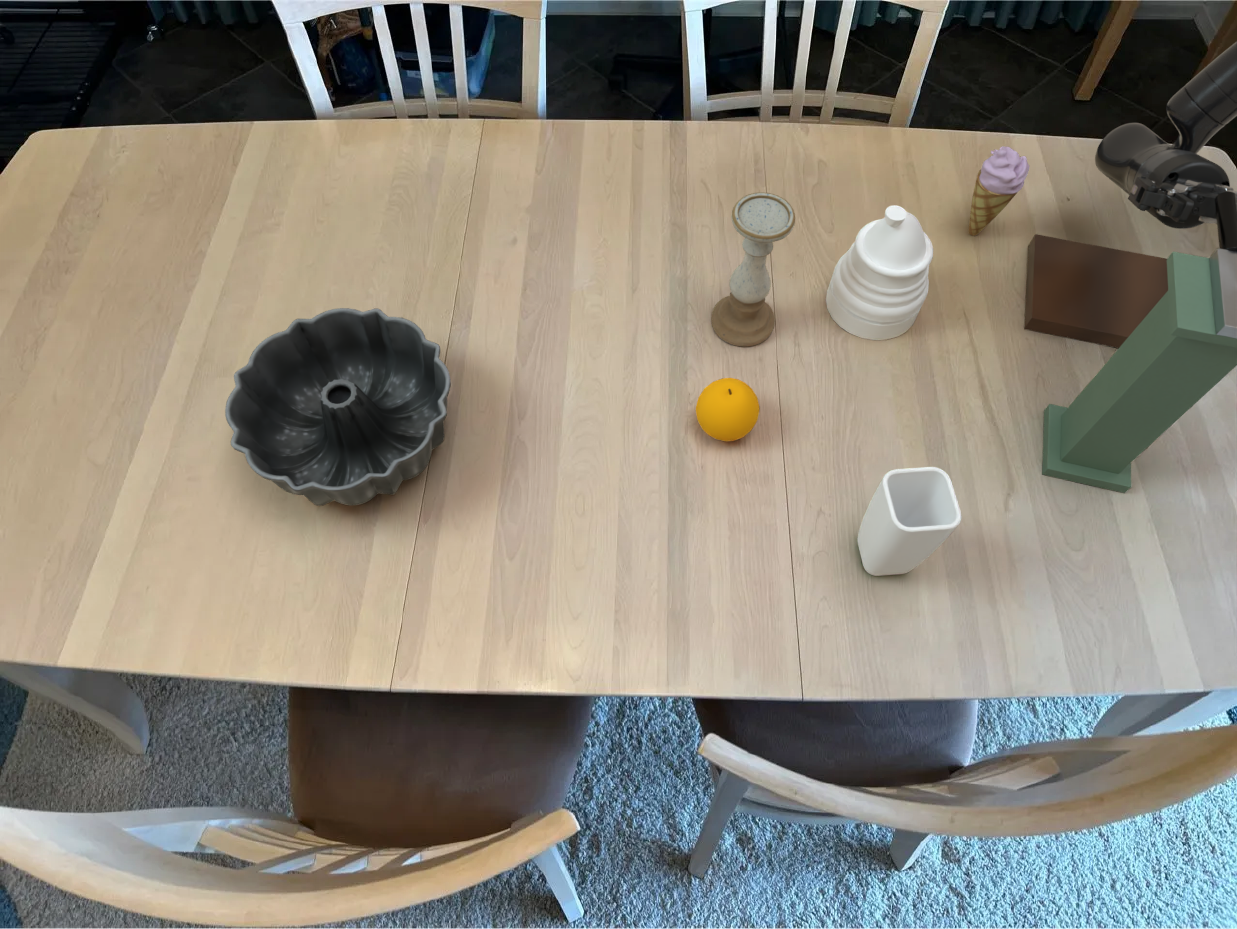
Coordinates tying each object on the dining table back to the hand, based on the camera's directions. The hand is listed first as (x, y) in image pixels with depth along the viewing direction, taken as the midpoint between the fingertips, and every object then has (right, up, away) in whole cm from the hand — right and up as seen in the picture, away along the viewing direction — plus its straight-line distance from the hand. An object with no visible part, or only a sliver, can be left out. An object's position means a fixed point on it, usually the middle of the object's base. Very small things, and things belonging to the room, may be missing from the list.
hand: (1231, 220), depth 84 cm
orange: (-48, -19, +25) cm, 57 cm away
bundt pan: (-95, -21, +25) cm, 100 cm away
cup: (-30, -35, +16) cm, 49 cm away
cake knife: (-1, -4, -1) cm, 4 cm away
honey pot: (-26, -2, +35) cm, 43 cm away
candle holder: (-44, -5, +33) cm, 56 cm away
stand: (-2, -23, +23) cm, 32 cm away
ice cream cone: (-8, +10, +42) cm, 44 cm away
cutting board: (+7, -1, +35) cm, 35 cm away
